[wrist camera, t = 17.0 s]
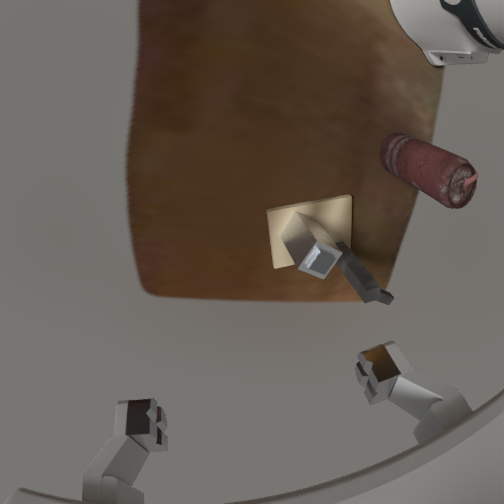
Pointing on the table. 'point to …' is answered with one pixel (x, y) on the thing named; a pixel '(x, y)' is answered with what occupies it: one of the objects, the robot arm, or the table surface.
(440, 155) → the can
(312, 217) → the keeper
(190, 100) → the table surface
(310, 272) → the grey square pillar
